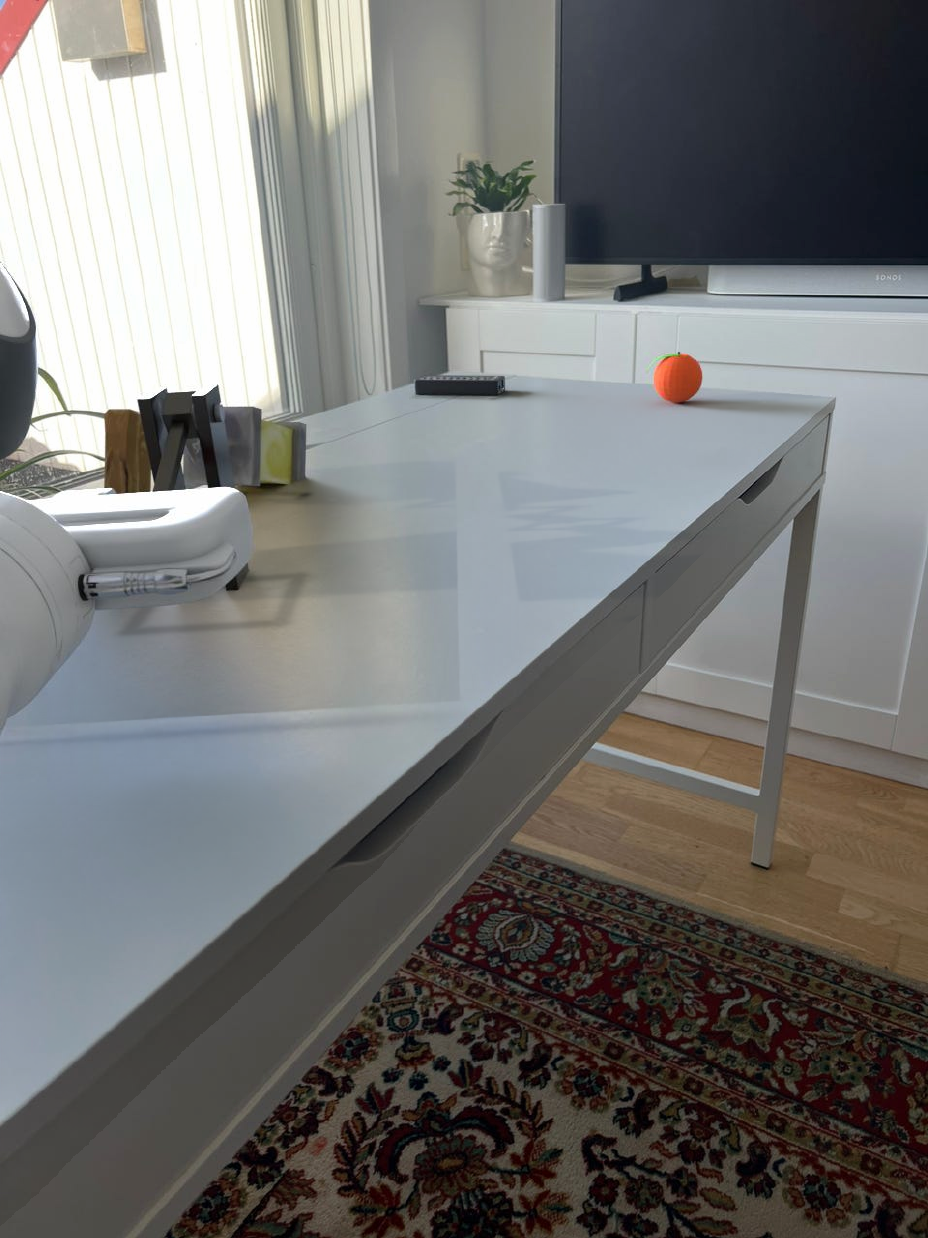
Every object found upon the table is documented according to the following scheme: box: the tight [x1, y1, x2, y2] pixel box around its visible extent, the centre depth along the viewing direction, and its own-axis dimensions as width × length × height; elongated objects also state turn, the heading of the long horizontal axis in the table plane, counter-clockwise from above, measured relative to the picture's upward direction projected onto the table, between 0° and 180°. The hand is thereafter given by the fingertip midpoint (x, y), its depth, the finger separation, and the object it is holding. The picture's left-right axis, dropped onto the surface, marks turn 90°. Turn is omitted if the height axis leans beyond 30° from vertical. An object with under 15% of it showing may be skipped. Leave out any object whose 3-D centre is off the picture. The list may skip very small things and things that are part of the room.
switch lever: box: [151, 390, 199, 492], centre depth 67 cm, size 12×6×2 cm, turn 1°
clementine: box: [646, 351, 703, 404], centre depth 134 cm, size 8×7×7 cm
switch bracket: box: [136, 383, 250, 592], centre depth 73 cm, size 10×12×17 cm
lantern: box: [103, 406, 307, 495], centre depth 91 cm, size 8×17×30 cm
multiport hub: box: [413, 374, 506, 396], centre depth 151 cm, size 4×14×2 cm, turn 69°
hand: (92, 503), depth 52 cm, fingers closed
